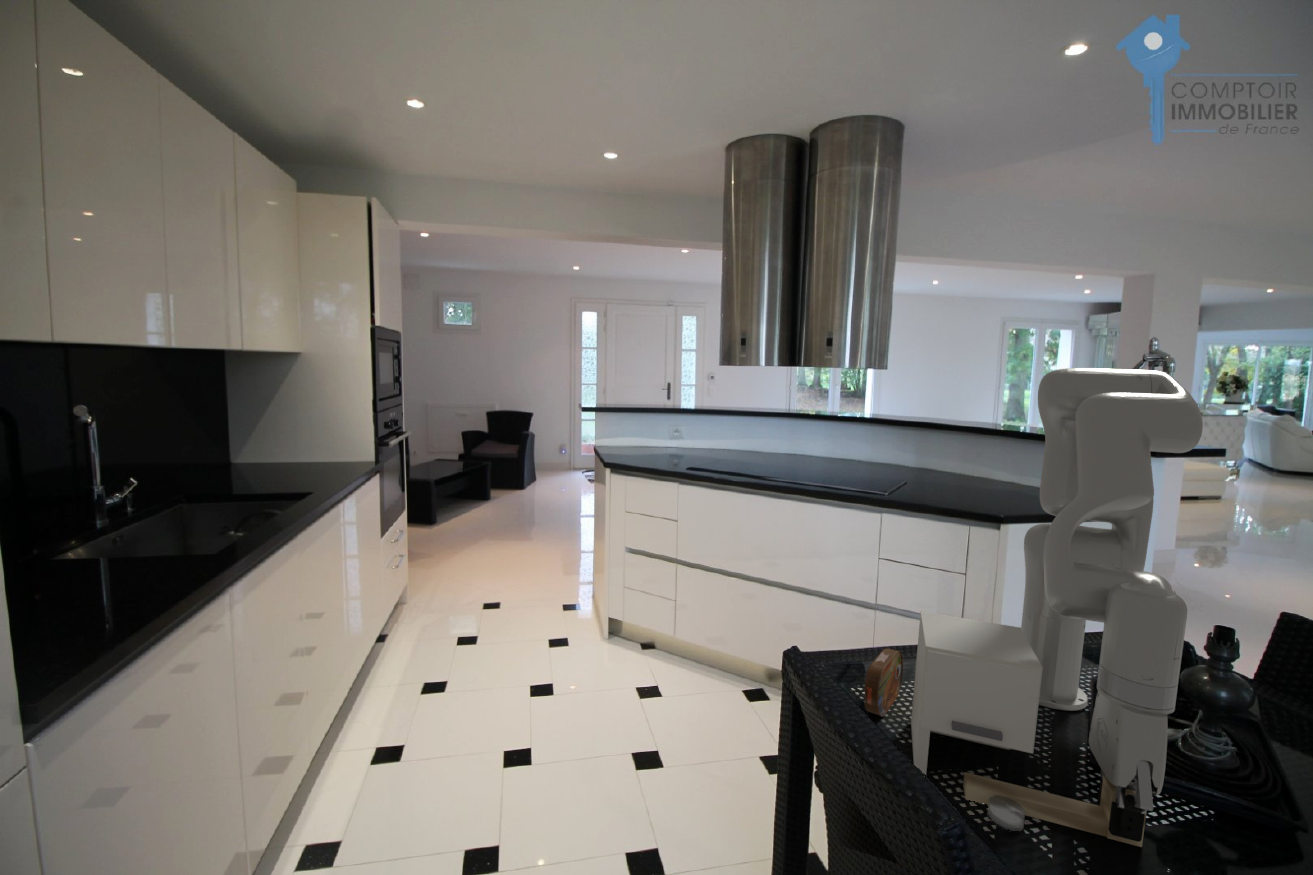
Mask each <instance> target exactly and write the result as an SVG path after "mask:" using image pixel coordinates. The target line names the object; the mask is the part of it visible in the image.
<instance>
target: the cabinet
mask: <svg viewBox="0 0 1313 875" xmlns="http://www.w3.org/2000/svg"><path fill="white" fill-rule="evenodd" d="M918 625H919V626H918V628H919V629H918V636H917V637H918V639H917V647H916V648H917V649H916V650H917V651H916V658H915V659H916V661H915V673H914V681H913V682H914V685H913V694H912V695H913V696H912V706H911V707H912V708H911V716H910V717H911V718H910V726H911V727H910V728H911V739H912V740H911V742H912V756H913V758H912V759H913V766H914V765H915V766H916V767H917V768H919V769H920V770H921V771H922V773H924V774H925V775H926V776H927V768H928V758H929V747H930V739H931V738H930V737H931V735H930V734H931V733H935V734H938V735H944V736H948V737H952V738H955V739H961V740H966V741H969V742H974V743H978V744H982V745H987V746H991V747H994V748H1000V749H1004V750H1007V751H1008V750H1009V751H1010V750H1015V751H1020V752H1023V753H1024V752H1025V753H1029V754H1031V755H1033V754H1034V748H1035V741H1036V730H1037V722H1038V714H1039V713H1038V712H1039V706H1040V705H1039V696H1040V687H1041V678H1042V669H1043V667H1042V666H1041V664H1040V662H1039V660H1038V658H1037V657H1036V655H1035V653H1034V651H1033V649H1032V648H1031V646H1030V644H1029V642H1028V640H1027V639H1026V637H1025V635H1024V633H1023V631H1022V630H1021V626H1020V627H1018V626H1013V625H1008V624H1001V623H994V622H989V621H982V620H976V619H970V618H964V617H958V616H952V615H947V614H945V615H944V614H939V613H935V612H934V613H933V612H929V611H927V612H926V611H920V616H919V624H918Z"/></svg>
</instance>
